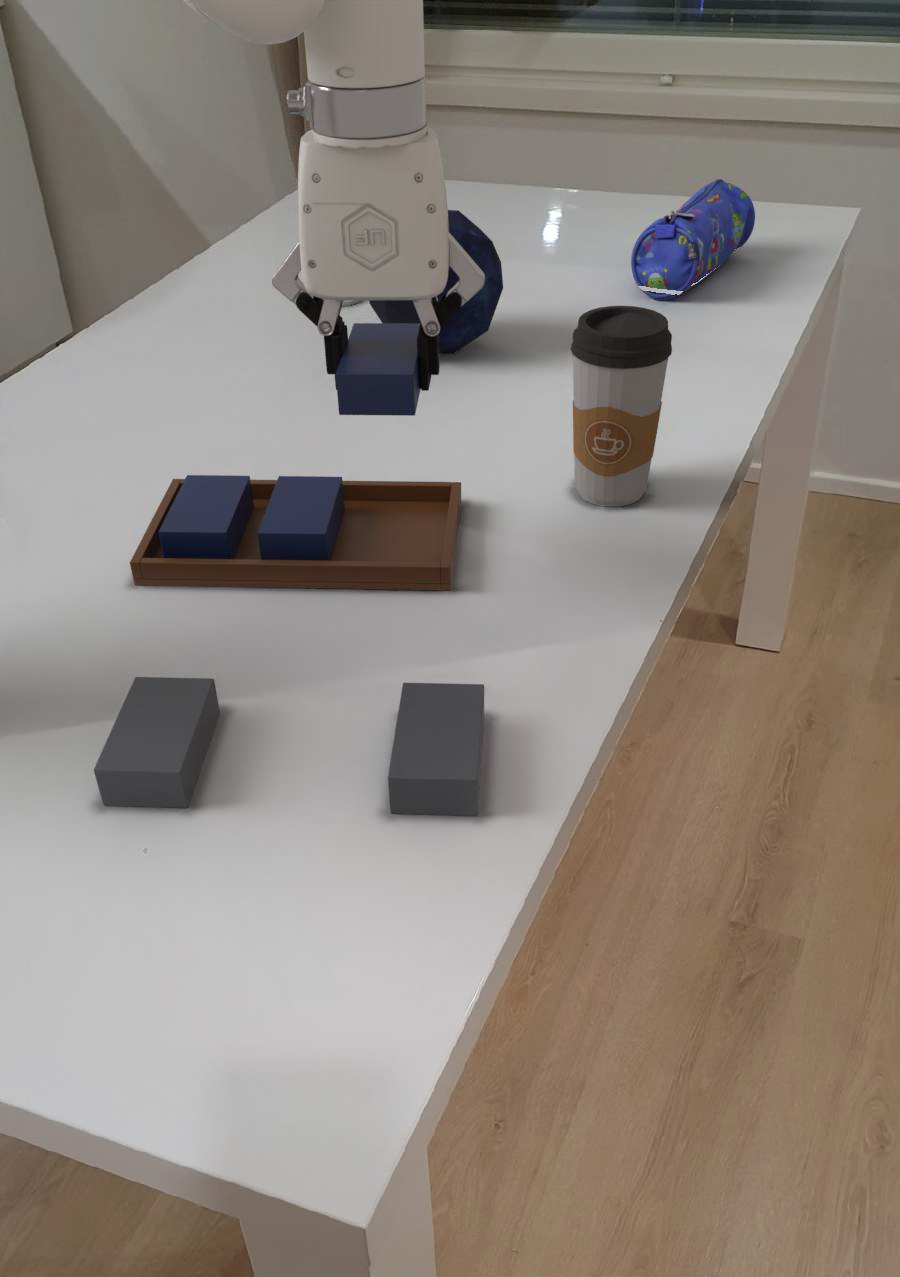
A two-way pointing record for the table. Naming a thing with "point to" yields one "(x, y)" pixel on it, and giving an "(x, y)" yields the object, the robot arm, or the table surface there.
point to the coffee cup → (617, 400)
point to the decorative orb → (475, 311)
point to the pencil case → (692, 239)
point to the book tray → (363, 553)
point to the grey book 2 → (437, 750)
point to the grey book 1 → (158, 742)
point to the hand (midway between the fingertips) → (384, 381)
